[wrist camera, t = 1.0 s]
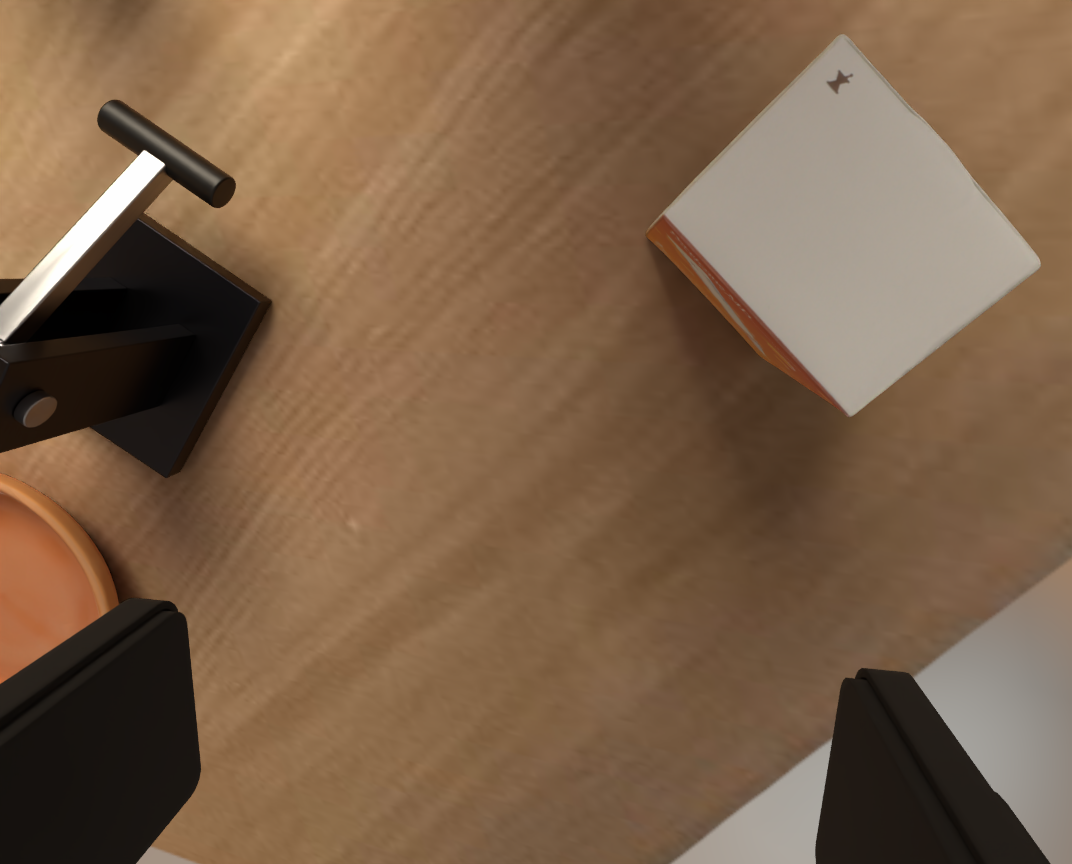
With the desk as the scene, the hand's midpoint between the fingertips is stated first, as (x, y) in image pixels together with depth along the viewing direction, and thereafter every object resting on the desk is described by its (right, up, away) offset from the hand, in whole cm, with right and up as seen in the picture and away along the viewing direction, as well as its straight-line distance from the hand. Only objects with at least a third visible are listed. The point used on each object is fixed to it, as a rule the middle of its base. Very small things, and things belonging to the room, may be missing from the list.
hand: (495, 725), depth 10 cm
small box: (+10, +12, +21) cm, 27 cm away
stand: (-19, +9, +26) cm, 33 cm away
